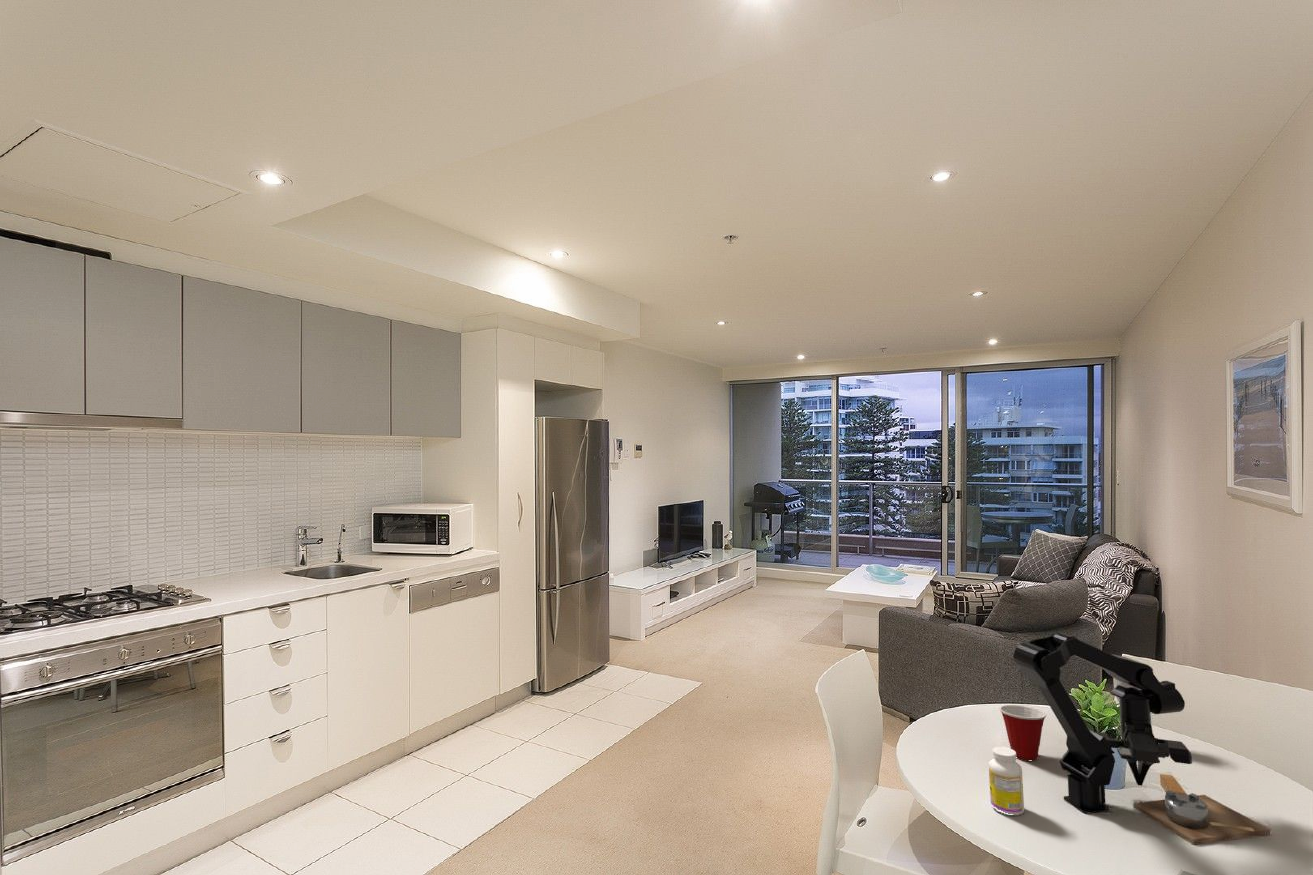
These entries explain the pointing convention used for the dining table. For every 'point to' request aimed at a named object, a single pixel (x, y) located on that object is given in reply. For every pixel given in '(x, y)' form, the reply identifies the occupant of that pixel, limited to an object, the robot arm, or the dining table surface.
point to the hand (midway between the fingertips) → (1139, 784)
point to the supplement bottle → (1006, 781)
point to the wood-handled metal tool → (1183, 804)
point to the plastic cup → (1023, 729)
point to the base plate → (1219, 818)
